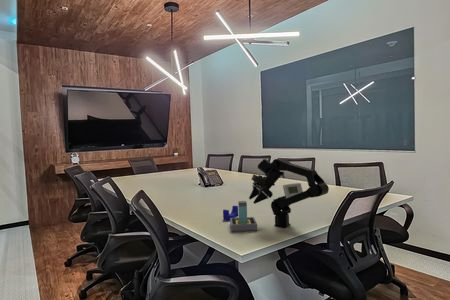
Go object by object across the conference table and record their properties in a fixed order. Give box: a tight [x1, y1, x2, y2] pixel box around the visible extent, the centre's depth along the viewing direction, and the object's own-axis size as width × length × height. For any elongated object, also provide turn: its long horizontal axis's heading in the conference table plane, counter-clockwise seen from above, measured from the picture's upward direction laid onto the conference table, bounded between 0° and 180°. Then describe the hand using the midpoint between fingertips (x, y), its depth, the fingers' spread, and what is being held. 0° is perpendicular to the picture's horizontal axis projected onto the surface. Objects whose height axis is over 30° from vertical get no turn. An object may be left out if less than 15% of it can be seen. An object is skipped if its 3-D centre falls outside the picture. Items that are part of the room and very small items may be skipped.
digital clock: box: [282, 182, 304, 198], centre depth 223 cm, size 16×9×11 cm, turn 103°
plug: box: [237, 200, 248, 224], centre depth 156 cm, size 4×4×13 cm
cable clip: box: [222, 205, 239, 222], centre depth 175 cm, size 12×4×6 cm, turn 147°
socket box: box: [229, 216, 258, 233], centre depth 156 cm, size 13×13×4 cm
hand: (251, 201), depth 157 cm, fingers open, 9 cm apart
